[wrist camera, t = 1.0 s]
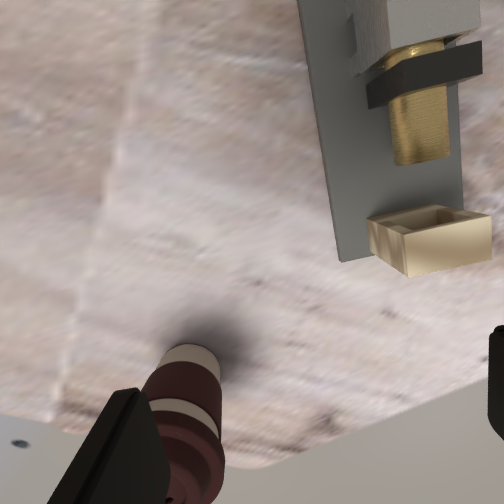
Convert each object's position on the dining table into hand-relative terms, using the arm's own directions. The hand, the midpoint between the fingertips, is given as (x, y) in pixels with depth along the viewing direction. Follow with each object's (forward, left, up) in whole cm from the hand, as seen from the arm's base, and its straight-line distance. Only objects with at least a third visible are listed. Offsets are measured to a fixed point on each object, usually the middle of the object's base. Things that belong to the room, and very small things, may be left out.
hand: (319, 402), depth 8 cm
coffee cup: (+15, -13, -26) cm, 32 cm away
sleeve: (-15, +14, -25) cm, 32 cm away
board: (-8, +13, -25) cm, 30 cm away
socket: (+3, +14, -25) cm, 29 cm away
